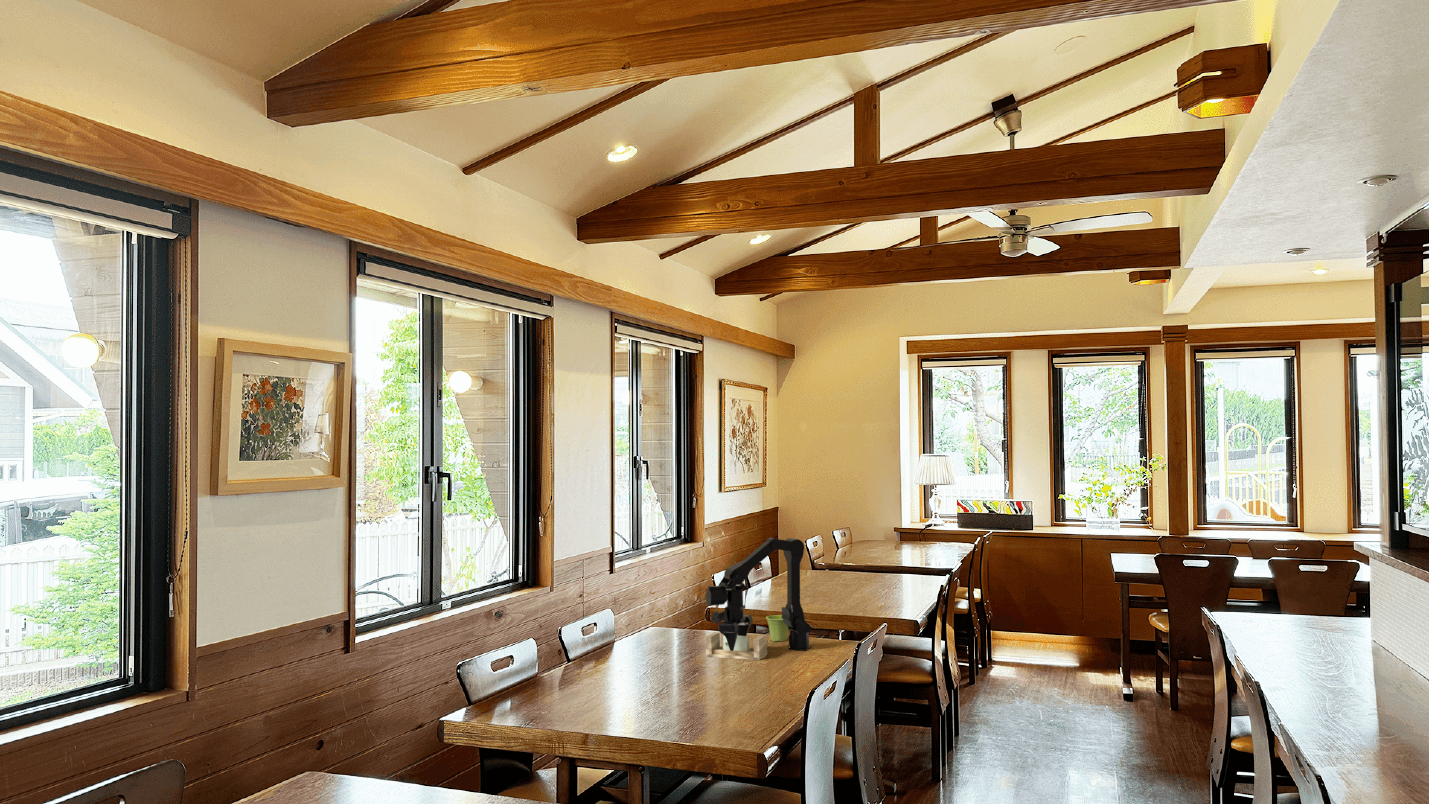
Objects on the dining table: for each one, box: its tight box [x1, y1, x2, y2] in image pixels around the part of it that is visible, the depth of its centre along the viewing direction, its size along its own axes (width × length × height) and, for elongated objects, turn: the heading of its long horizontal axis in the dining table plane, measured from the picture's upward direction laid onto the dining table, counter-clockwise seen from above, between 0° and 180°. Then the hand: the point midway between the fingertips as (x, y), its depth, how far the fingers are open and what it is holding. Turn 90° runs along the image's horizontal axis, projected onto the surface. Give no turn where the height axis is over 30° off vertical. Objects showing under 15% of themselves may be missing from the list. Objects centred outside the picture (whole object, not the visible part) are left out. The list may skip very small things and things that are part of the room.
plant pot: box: [765, 614, 789, 642], centre depth 343 cm, size 9×9×9 cm
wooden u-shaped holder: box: [705, 631, 768, 661], centre depth 319 cm, size 20×8×7 cm, turn 67°
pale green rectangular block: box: [722, 635, 751, 651], centre depth 319 cm, size 9×3×6 cm, turn 68°
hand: (736, 647), depth 319 cm, fingers open, 9 cm apart
